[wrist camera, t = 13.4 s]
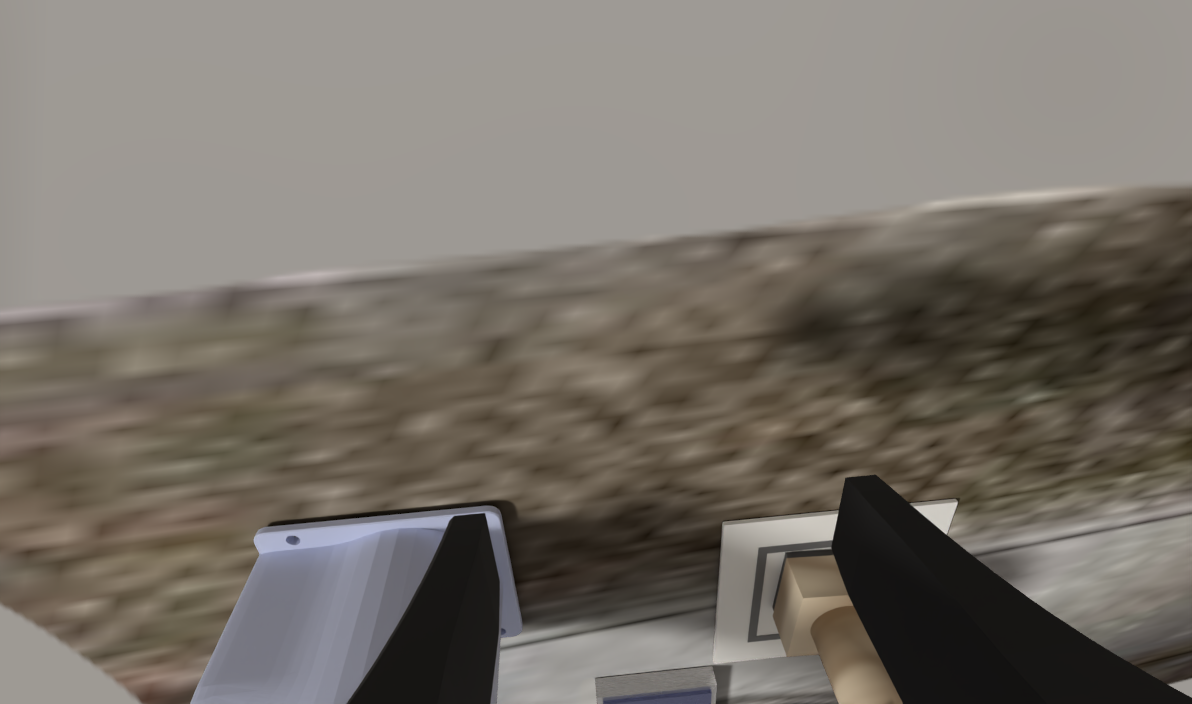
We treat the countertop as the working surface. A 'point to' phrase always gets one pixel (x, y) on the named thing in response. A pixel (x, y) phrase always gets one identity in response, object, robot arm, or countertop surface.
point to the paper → (773, 574)
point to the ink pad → (659, 687)
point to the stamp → (829, 628)
